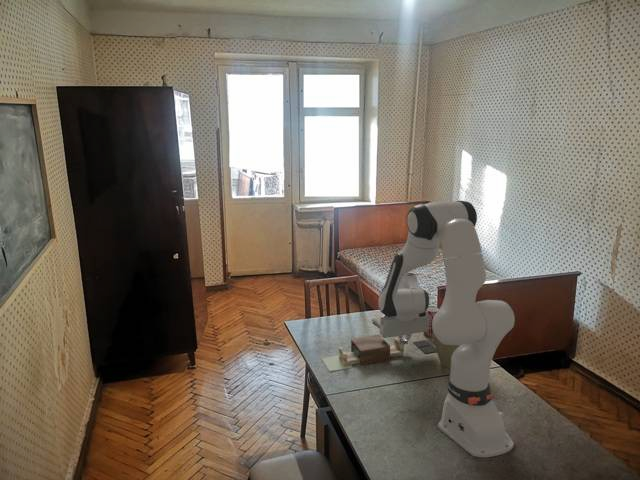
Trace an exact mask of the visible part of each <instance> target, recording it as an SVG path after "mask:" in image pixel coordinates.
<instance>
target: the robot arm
mask: <svg viewBox="0 0 640 480" xmlns="http://www.w3.org/2000/svg"><path fill="white" fill-rule="evenodd" d="M477 222H478V213H477V210H476V209H475V207H474V205H473V204H472V203H471V202H469V201H466V200H456V201H451V200H450V201H442V200H441V201H434V202H432V201H431V202H428V203H420V204H416V205H414V206H412V207H410V209H409V210H408V212H407V215H406V224H407V225H406V226H407V229H408V234H407V240H406V242H405V244H404V246H403V247H402V249H400V251H399V252H398V253H396V254H395V256H394V257H393V260H392V262H391V265H390V267H389V271H388V273H387V276H386V280H385V283H384V285H383V288H382V290H381V292H380V294H379V296H378V310H379V311H380V312H381V313H382V315H381V316H382V317H381V319H380V328H379V335H380V336H381V337H382V338H383V339H389V338H393V337H394V338H396V337H397V338H398V339H399V340H400V341H401V342H402V343H403V344H404V345H408V344H409V340H410V339H411V337H412V335H413V334H419V333H420V334H421V333H423V332H427V331H428V329H429V319H428V317H427V316H428V312H427V311H426V310H427V309H428V307H429V306H430V294H429V293H428V291H426V290H425V288H423V287H421V286H420V285H419V282H418V276H417V274H415V273H413V272H412V271H414V270H417V269H419V268H422V267H425V266H428V265H429V264H431V263H432V262H434V261H435V259H436V258H437V256H438V253H439V250H440V246H441V252H442V258H443V264H444V265H443V266H444V273H445V283H446V284H445V285H446V286H445V295H444V298H443V301H442V304H441V306H440V308H439V310H438V312H437V313H436V314H435V315H434V318H433V321H432V329H433V333H434V335H435V337H436V338H437V339H438V340H439V341H440V342H441V343H442V344H445V345H460V346H459V347H458V348H457V349H456V350H455V351H454V352H453V354H452V357H451V368H449V369H450V371H449V377H448V380H447V391H448V392H447V394H446V397H445V400H444V402H443V406H442V407H443V408H442V413H441V417H440V421H438V424H437V427H438V429H439V430H441V432H443V433H444V434H445V435H446V436H448V437H449V438H450V439H451V440H453V441H454V442H455V443H456V444H457V445H459V446H460V447H461V448H463V449H464V451H466V452H467V453H469V454H470V455H471V456H473V457H477V458H492V457H496V456H500V455H504V454H506V453H508V452H509V451H511V450H513V449H514V446H515V443H514V441H513V440H512V438H511V437H510V436H509V434H508V433H507V432H506V424H505V421H504V414H503V412H501V411H499V410H498V408H497V407H496V404H495V402H494V401H493V400H492V399H493V398H494V395H495V394H494V393H492V390H491V386H490V382H489V380H490V372H491V365H492V360H493V358H494V355H495V353H496V350H497V348H498V347H499V345H500V343H501V342H502V340H503V339H504V338H505V336H506V335H507V334H508V333H509V332H510V331H512V329H513V328H514V326H515V322H516V321H515V313H514V311H513V309H512V307H511V306H510V305H509V304H508V303H507V302H506V301H503V300H498V299H486V300H479V301H476V298H477V294H478V291H479V290H480V288H482V287H483V286H484V284H485V283H486V281H487V280H486V279H487V274H486V269H485V267H486V266H485V263H484V262H485V261H484V257H483V252H482V247H481V242H480V239H479V235H478V232H477V230H476V225H477ZM403 336H405V337H404V338H403Z"/></svg>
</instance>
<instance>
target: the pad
mask: <svg viewBox="0 0 640 480" xmlns="http://www.w3.org/2000/svg"><path fill="white" fill-rule="evenodd" d="M321 361H322V362H323V364H324V365H325V367H326V368H327V370H328V371H329V372H330V373H332V372H337V371H342V370H347V369H349V370H350V369H352V368H353V366H352V364H349V365H344V364H343V363H342V362H341V360H340V359H339V354H338V355H333V356H332V355H331V356H327V357H322V358H321Z"/></svg>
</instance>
